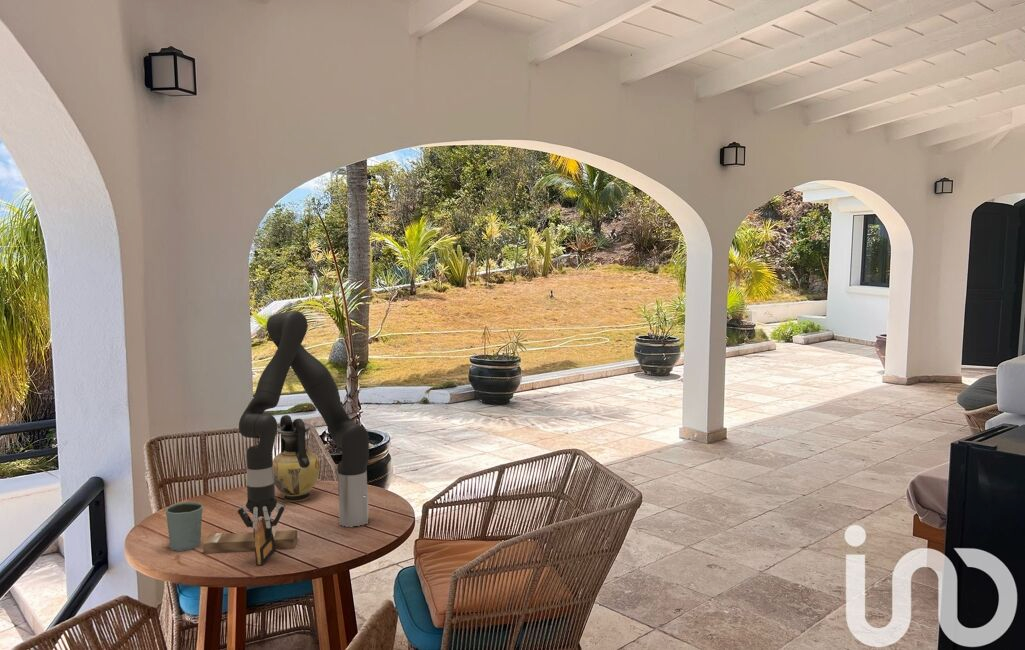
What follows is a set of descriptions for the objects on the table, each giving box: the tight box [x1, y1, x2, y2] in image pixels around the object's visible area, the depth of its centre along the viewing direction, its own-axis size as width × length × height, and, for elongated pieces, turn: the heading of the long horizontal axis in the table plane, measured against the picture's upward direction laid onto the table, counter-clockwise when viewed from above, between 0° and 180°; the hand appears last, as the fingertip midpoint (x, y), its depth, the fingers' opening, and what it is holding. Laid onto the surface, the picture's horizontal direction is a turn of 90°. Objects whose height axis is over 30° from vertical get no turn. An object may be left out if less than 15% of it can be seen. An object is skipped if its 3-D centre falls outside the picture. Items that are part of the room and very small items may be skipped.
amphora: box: [272, 414, 321, 503], centre depth 265 cm, size 18×17×30 cm
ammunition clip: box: [254, 516, 276, 566], centre depth 214 cm, size 11×2×12 cm, turn 179°
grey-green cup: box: [165, 501, 204, 552], centre depth 224 cm, size 10×10×12 cm
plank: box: [202, 529, 299, 554], centre depth 223 cm, size 26×7×3 cm, turn 97°
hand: (263, 539), depth 214 cm, fingers closed
